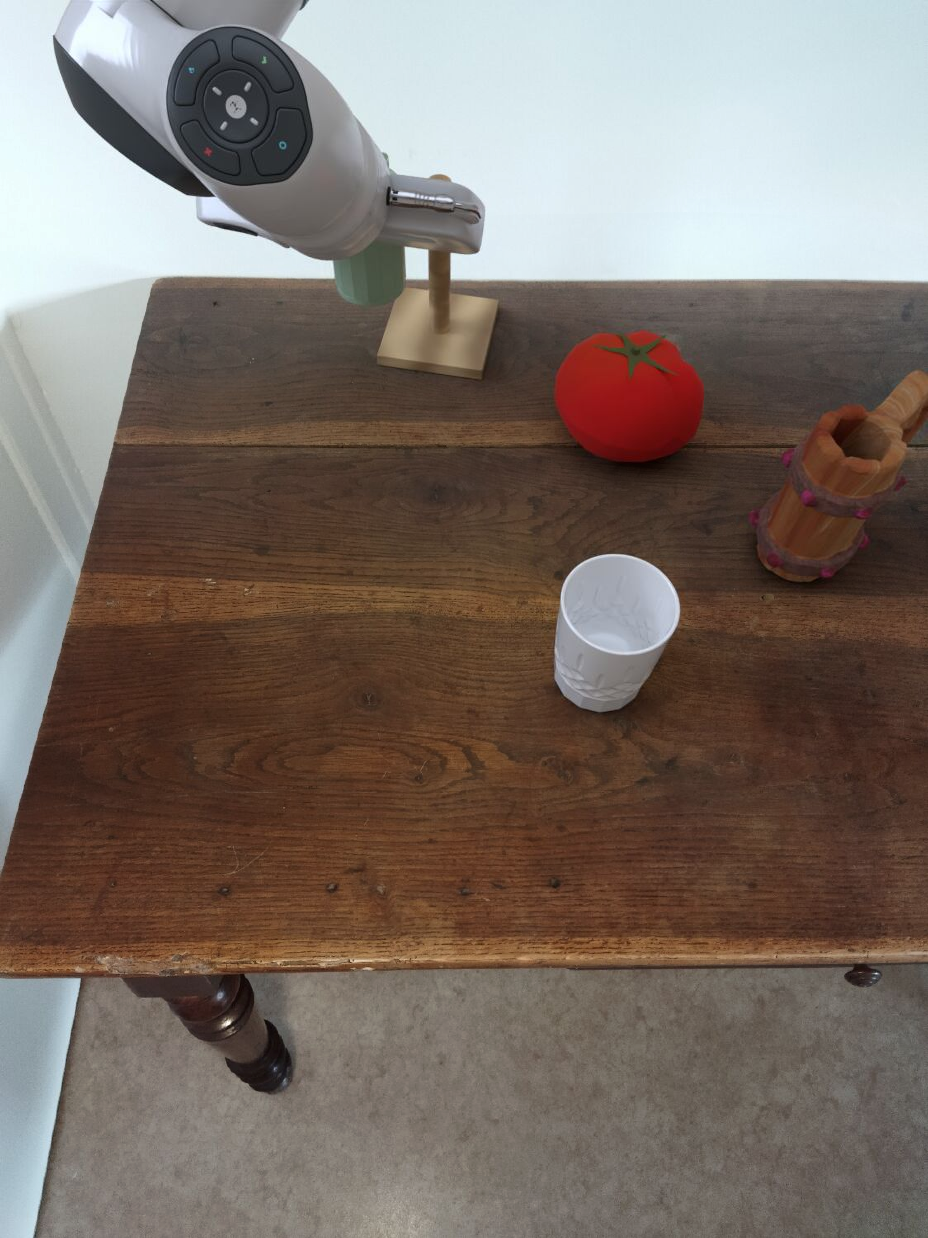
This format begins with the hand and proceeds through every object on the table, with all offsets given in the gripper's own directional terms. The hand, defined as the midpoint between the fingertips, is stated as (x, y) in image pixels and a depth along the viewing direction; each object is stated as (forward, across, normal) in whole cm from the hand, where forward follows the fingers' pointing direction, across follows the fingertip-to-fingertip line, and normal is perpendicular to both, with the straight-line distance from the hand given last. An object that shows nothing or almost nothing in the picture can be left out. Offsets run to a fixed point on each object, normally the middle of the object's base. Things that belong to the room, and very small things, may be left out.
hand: (367, 227), depth 72 cm
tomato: (+6, -23, +14) cm, 28 cm away
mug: (+1, -40, +20) cm, 45 cm away
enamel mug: (+4, 0, +2) cm, 5 cm away
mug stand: (+13, -3, +7) cm, 15 cm away
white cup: (-11, -24, +31) cm, 41 cm away
